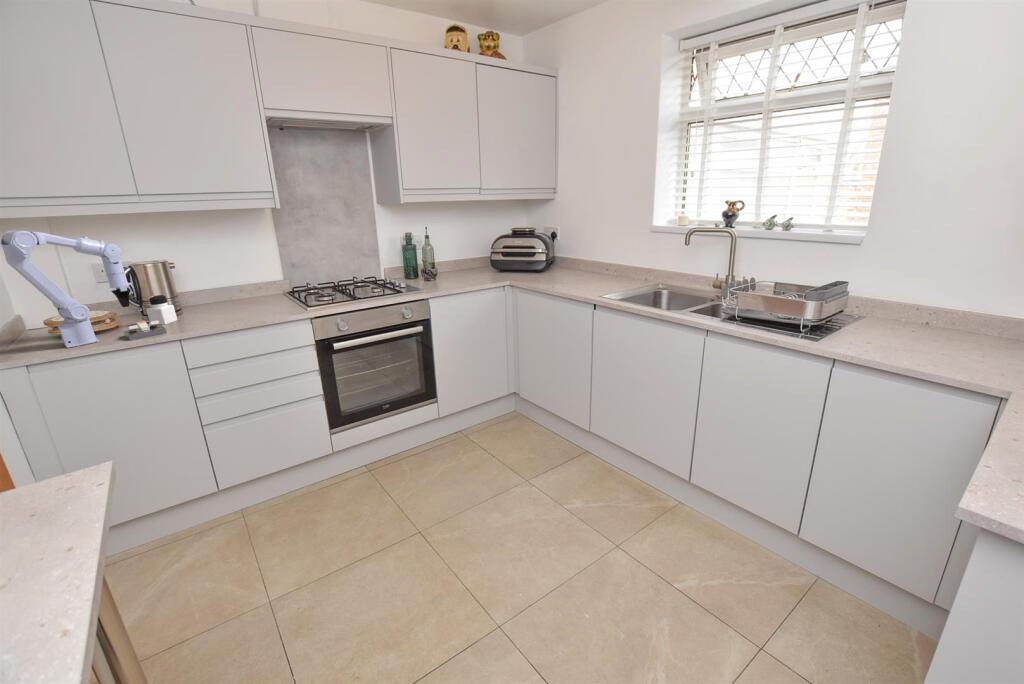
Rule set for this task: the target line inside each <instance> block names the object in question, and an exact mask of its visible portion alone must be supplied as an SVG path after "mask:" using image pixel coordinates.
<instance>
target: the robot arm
mask: <svg viewBox="0 0 1024 684" xmlns="http://www.w3.org/2000/svg"><path fill="white" fill-rule="evenodd" d="M46 244H49V245H54V246H60V247H65V248H71V249H73V250H74V251H75V252H76V253H80V254H85V255H90V256H91V255H92V256H96V257H100V258H101V261H102V265H103V267H104V270H105V275H106V277H107V279H108V284H109V288H110V289H113V290H110V292H111V293H113V295H114V296H115V298H117V300H118V302H119V304H120V306H121V308H126V307H130V294H131V289H130V286H131V285H133V283H132V282H128V279H127V275H126V272H125V268H124V266H123V265H124V264H123V263H122V259H121V256H122V249H121V248H120V246H118V245H117V244H116V243H113V242H110V243H108V242H105V241H104V240H95V239H90V238H89V237H88V236H82V237H81V236H79V237H76V238H75V239H73V238H67V237H64V236H59V235H56V234H55V235H54V234H49V233H46V232H41V231H27V230H15V229H13V230H12V229H11V230H8V231H5V232H4V233H3V234H2V237H1V238H0V245H1V246H2V247H1V248H2V250H3V253H4V257H5V261H6V263H7V264H8V265H9V267H11V268H12V269H14V270H15V271H16V272H17V273H18V274H19V275H20V276H22V277H23V278H24V279H25V280H26V281H27V282H29V283H30V285H32V286H33V287H34V288H35V289H36V290H37V291H39V292H40V293H41V294H42V295H43V296H44V297H46V298H47V299H48V300H49V301H50V302H51V303H52V306H53V307H54V308H55V309H56V310H57V313H58V315H60V317H62V318H63V322H62V323H58V324H57V327H58V330H59V333H60V336H61V341H62V344H64V346H65V347H66V348H67V349H69V348H74V347H78V346H79V347H80V346H85V345H88V344H93V343H98V342H100V340H99V338H97V337H96V334H95V332H94V329H93V326H92V322H91V319H90V314H91V312H90V309H89V308H88V306H87V305H84V304H82V303H80V302H78V301H77V300H76V299H74V298H72V297H71V296H70V295H68V294H67V293H66V292H65V291H64V290H63V289H61V287H59V286H58V285H57V284H56V283H55V282H54V281H52V280H51V279H50V278H49V277H48V276H47V275H46V274H45V273H44V272H43V271H42V270H41V269H39V268H38V267H37V266H36V265H35V264H34V263H33V262H32V261H30V258H31V253H32V252H33V250H34V249H35V247H36V246H42V245H46Z"/></svg>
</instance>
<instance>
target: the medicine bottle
mask: <svg viewBox="0 0 1024 684" xmlns="http://www.w3.org/2000/svg"><path fill="white" fill-rule="evenodd" d="M148 302H149V305H150V307H149V308H146V313H147V317H148V321H149V323H150V322H152V321H157V320H158V321H159V325H161V326H162V325H163V326H165V325H168V324H171V323H174V322H177V321H178V318H177V317H178V316H177V314H176V310H175V306H174V305H173V304H168V300H167V296H166V295H163V294H157V295H152V296H150V297H149V298H148Z"/></svg>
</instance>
